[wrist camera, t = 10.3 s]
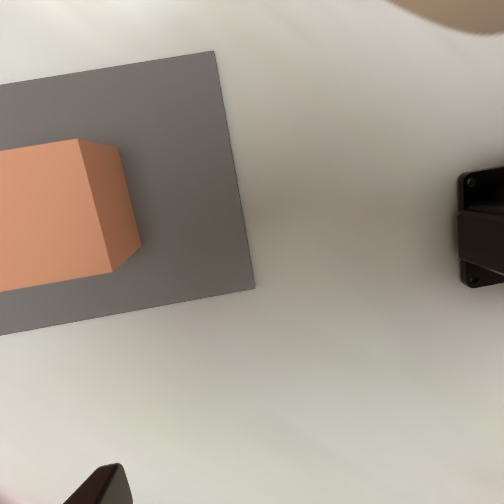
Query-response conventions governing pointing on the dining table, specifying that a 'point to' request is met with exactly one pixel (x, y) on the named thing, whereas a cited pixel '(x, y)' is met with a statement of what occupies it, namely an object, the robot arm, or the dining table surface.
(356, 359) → the dining table surface
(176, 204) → the mat
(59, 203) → the block
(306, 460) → the dining table surface
